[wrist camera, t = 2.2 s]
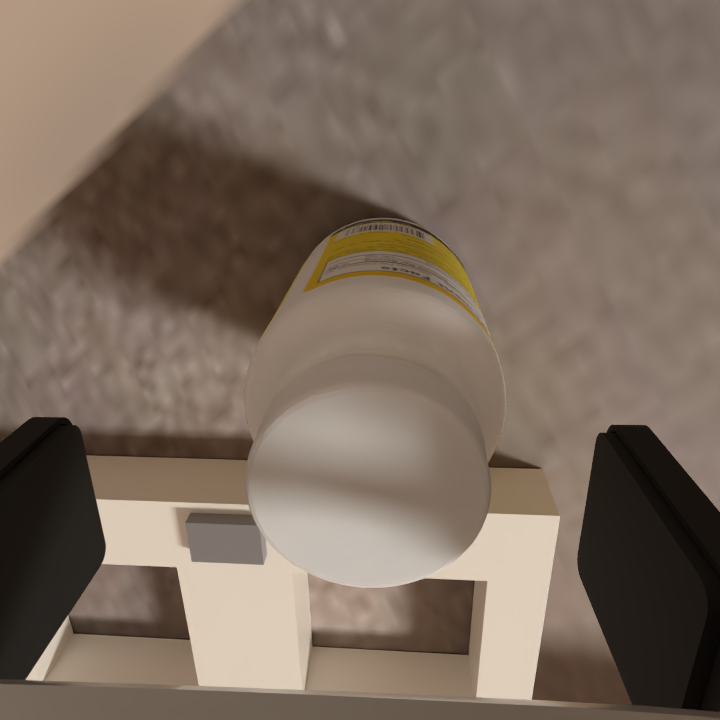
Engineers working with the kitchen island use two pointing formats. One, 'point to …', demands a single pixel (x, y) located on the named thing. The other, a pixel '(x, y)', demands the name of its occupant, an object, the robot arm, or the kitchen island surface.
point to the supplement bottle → (374, 410)
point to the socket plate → (299, 592)
